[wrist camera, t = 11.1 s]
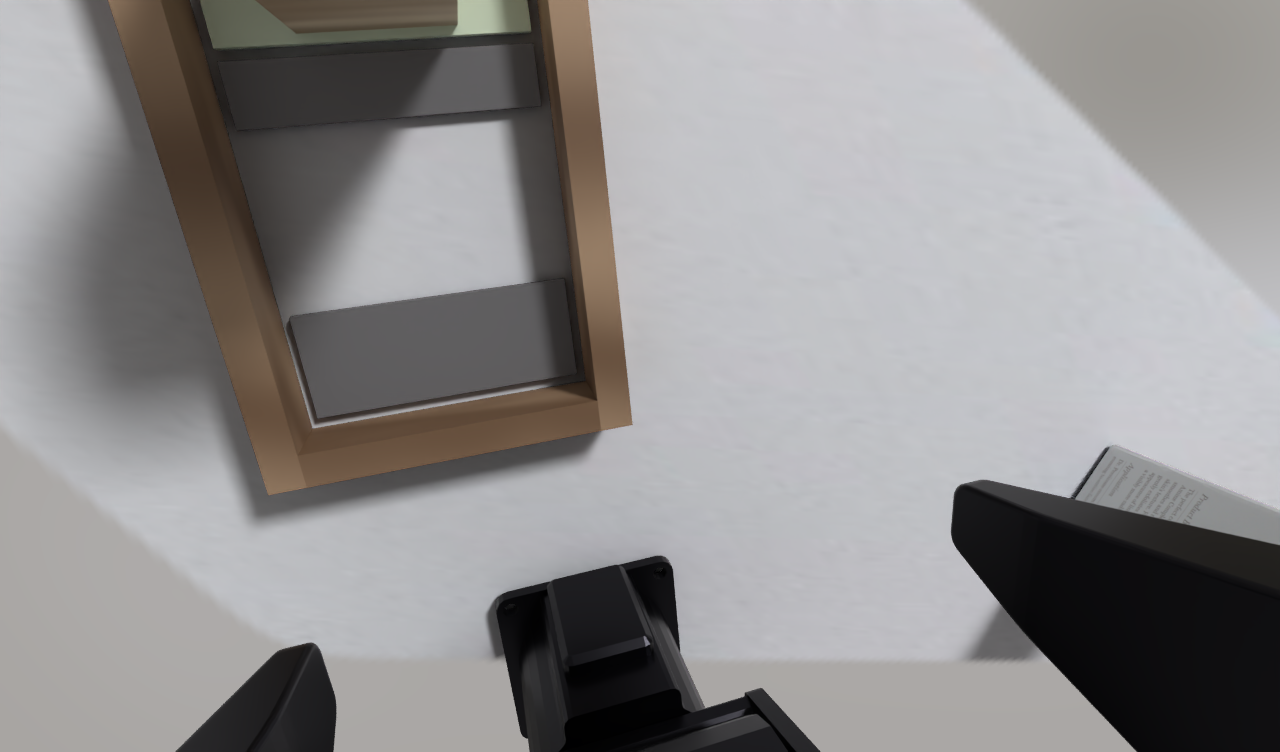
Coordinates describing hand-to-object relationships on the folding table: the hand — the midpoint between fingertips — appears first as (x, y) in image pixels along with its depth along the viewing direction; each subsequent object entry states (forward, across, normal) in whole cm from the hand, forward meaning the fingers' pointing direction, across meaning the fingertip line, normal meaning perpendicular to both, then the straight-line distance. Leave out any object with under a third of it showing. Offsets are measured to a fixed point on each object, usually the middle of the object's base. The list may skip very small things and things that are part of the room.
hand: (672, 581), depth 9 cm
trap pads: (+13, +3, -4) cm, 14 cm away
